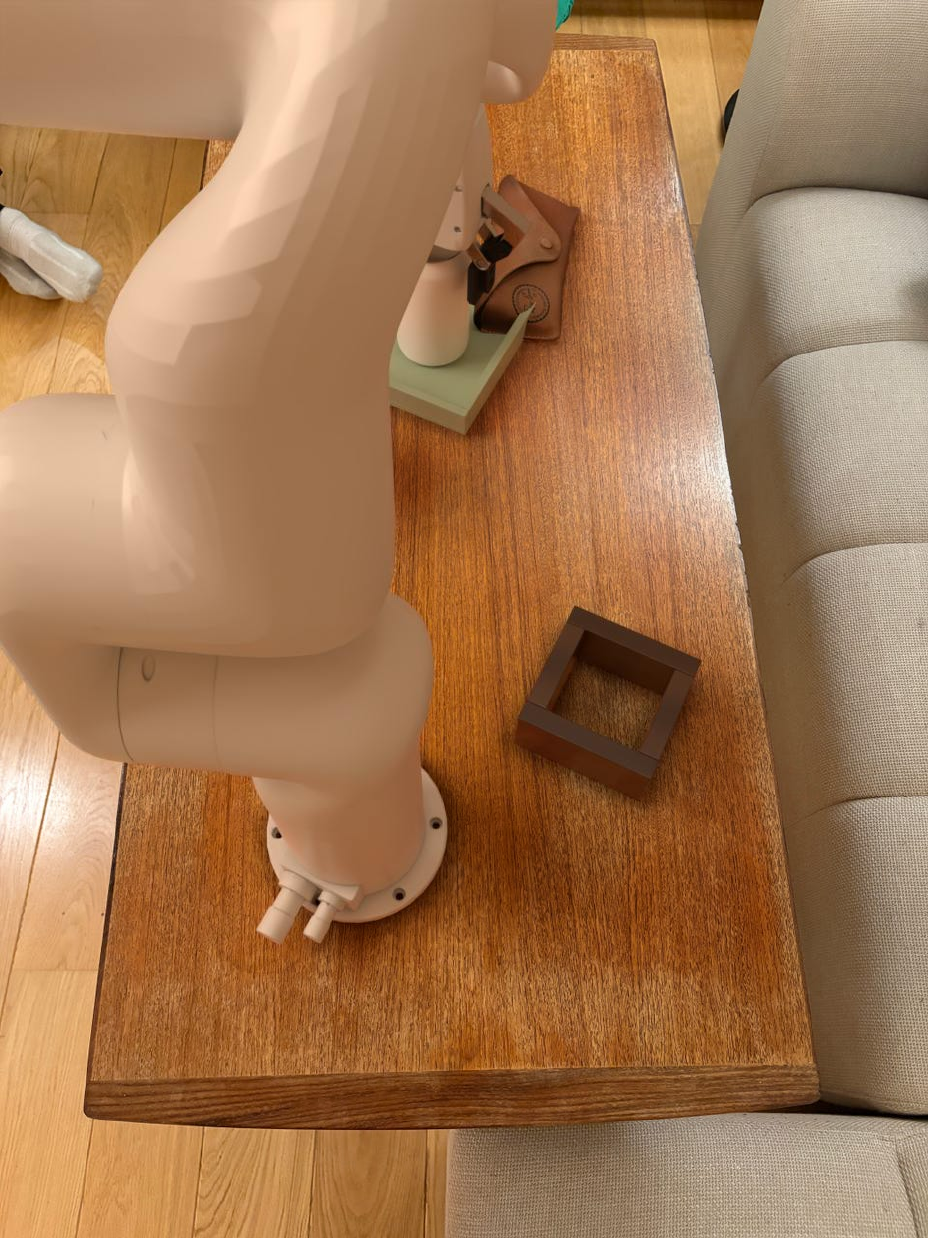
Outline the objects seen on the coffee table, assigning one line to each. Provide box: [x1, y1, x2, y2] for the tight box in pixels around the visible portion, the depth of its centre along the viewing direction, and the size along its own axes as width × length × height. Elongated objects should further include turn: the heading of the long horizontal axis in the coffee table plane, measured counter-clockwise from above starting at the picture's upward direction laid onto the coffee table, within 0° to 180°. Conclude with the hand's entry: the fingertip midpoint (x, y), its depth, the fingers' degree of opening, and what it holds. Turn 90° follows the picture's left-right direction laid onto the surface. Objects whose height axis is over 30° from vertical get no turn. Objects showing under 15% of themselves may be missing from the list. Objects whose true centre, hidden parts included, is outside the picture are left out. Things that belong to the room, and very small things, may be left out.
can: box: [397, 245, 472, 367], centre depth 86 cm, size 6×6×12 cm
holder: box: [513, 605, 703, 802], centre depth 74 cm, size 10×10×5 cm
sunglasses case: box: [473, 173, 581, 342], centre depth 95 cm, size 18×7×7 cm
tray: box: [389, 302, 536, 436], centre depth 91 cm, size 15×15×3 cm
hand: (426, 273), depth 84 cm, fingers open, 9 cm apart
